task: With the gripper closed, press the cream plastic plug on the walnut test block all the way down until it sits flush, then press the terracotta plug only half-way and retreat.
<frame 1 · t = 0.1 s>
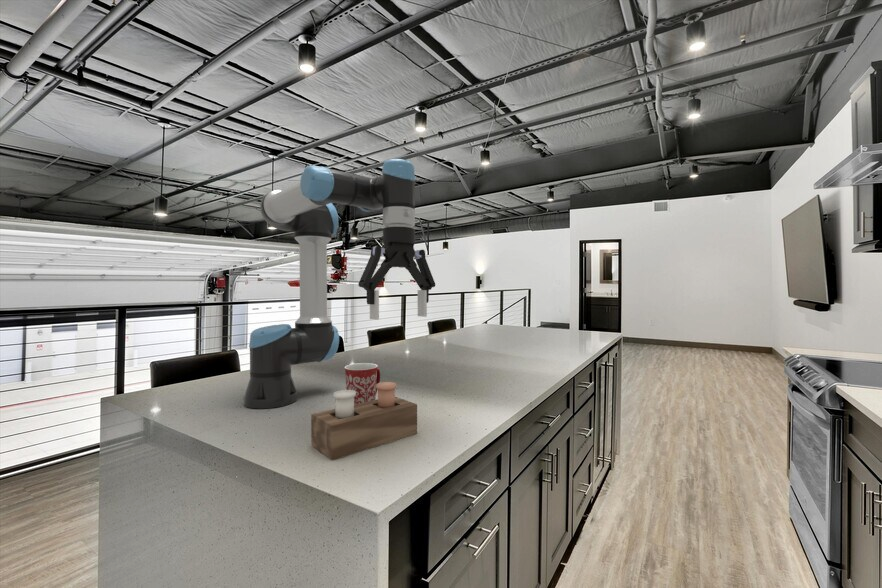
hand: (399, 317, 92), 28 cm above the countertop, fingers open, 13 cm apart
mug: (365, 413, 110), on the countertop
terracotta plug: (386, 398, 94), point 9 cm above the countertop, slide at 0.0 cm
walnut block: (366, 439, 90), on the countertop
cream plug: (344, 407, 86), point 9 cm above the countertop, slide at 0.0 cm
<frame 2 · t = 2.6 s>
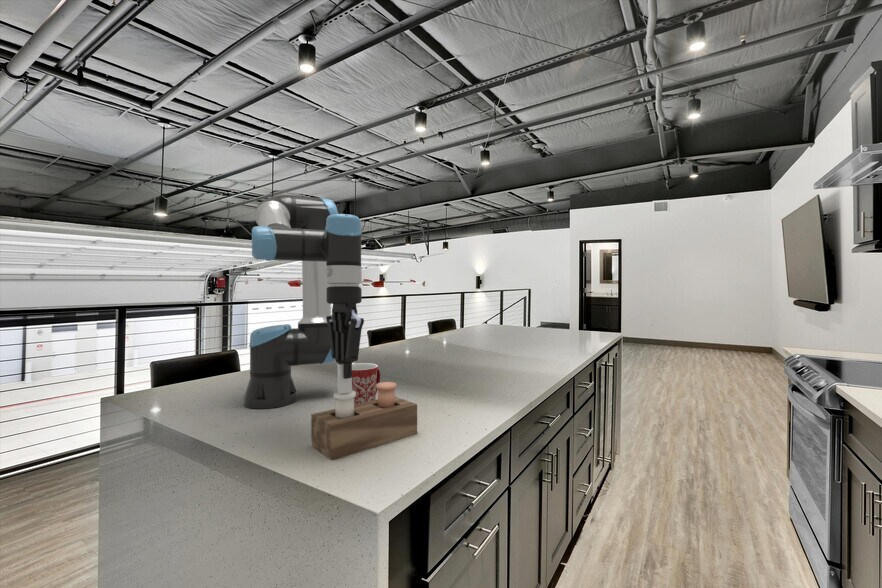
hand: (344, 392, 86), 12 cm above the countertop, fingers closed
cream plug: (344, 408, 86), point 8 cm above the countertop, slide at 0.2 cm, touching gripper
everything else where it was.
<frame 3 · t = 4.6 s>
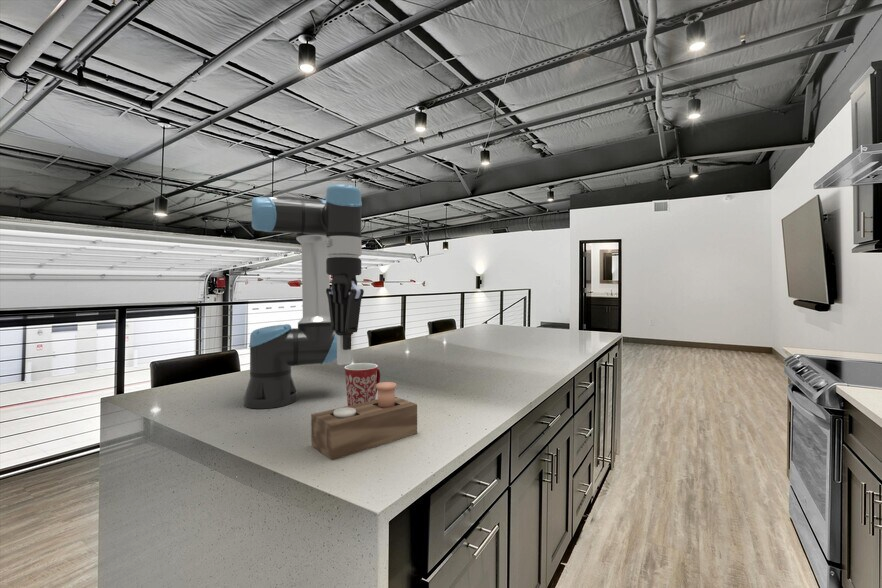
hand: (344, 363, 87), 18 cm above the countertop, fingers closed
cream plug: (344, 425, 86), point 4 cm above the countertop, slide at 4.0 cm
everything else where it was.
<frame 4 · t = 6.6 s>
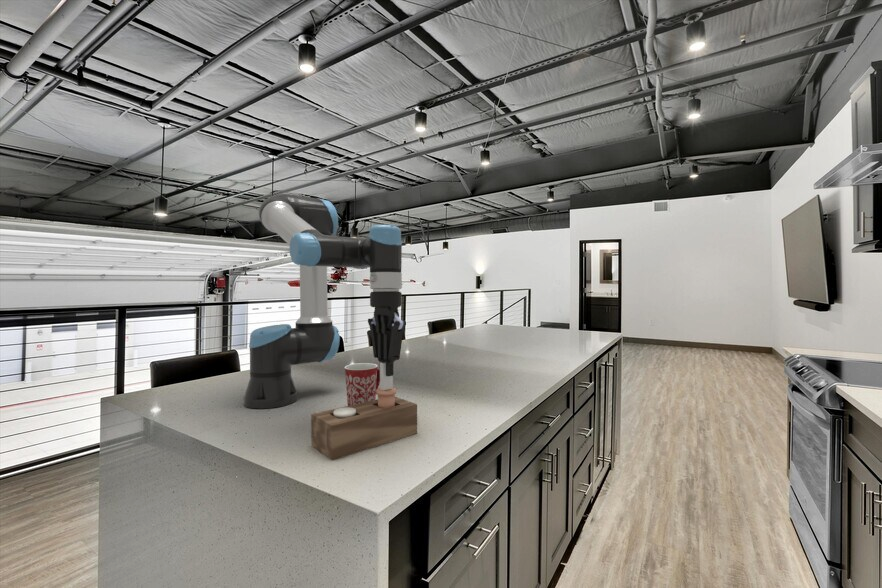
hand: (386, 388, 94), 11 cm above the countertop, fingers closed
terracotta plug: (386, 403, 94), point 7 cm above the countertop, slide at 1.3 cm, touching gripper
everything else where it was.
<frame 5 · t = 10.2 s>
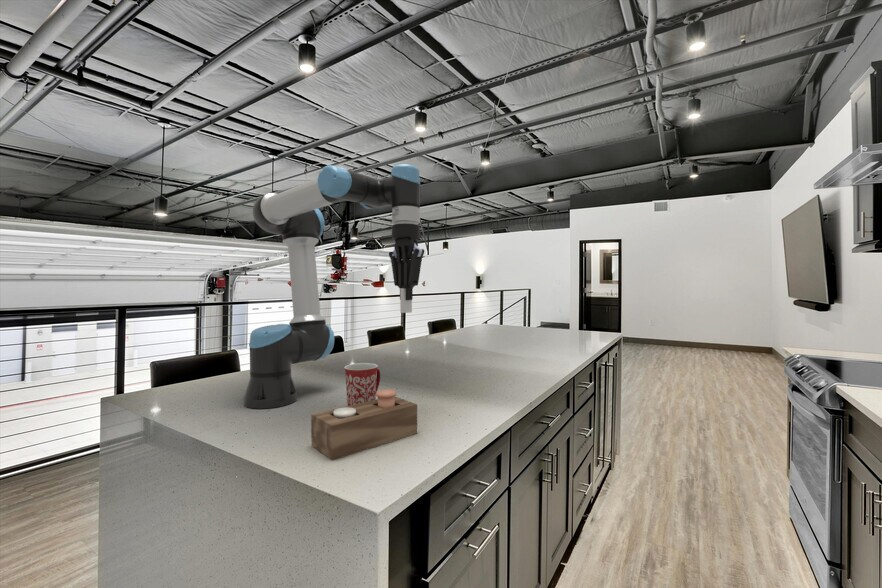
hand: (406, 312, 105), 28 cm above the countertop, fingers closed
terracotta plug: (386, 405, 94), point 7 cm above the countertop, slide at 1.8 cm
everything else where it was.
at the end: cream plug slide at 4.0 cm; terracotta plug slide at 1.8 cm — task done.
